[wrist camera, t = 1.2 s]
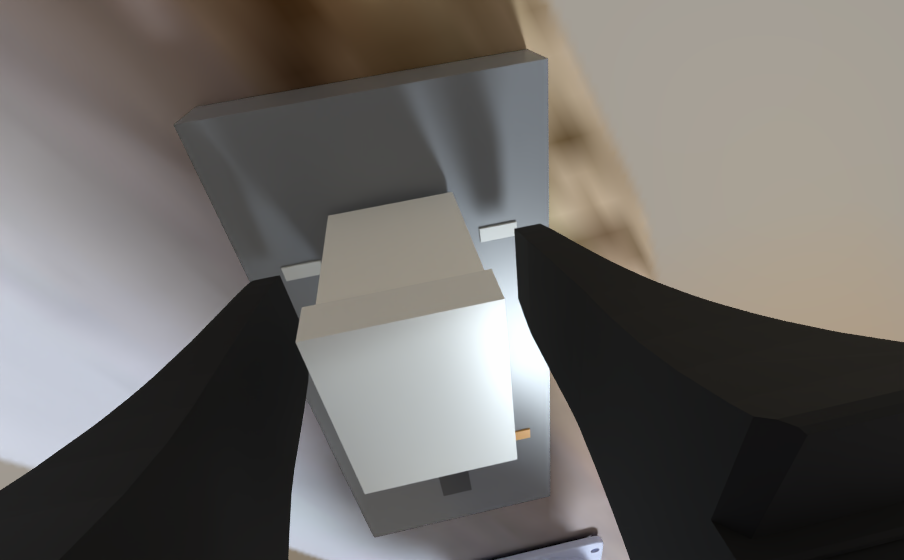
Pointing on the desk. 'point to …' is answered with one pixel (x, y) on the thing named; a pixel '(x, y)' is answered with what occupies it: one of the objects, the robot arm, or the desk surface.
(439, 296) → the fader tab
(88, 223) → the desk surface
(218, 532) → the robot arm
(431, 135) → the console
